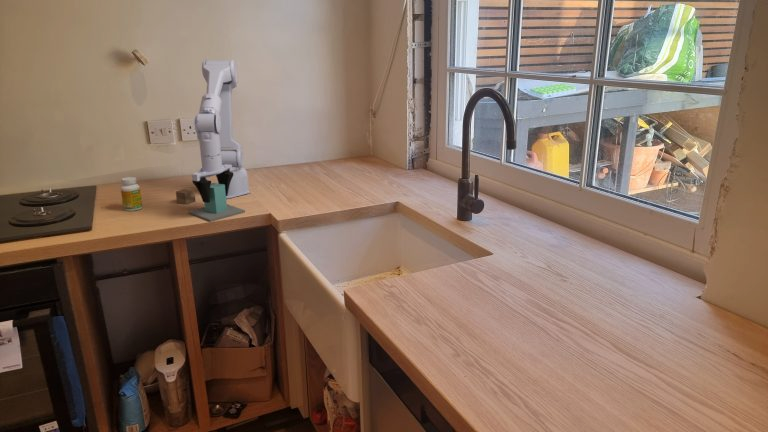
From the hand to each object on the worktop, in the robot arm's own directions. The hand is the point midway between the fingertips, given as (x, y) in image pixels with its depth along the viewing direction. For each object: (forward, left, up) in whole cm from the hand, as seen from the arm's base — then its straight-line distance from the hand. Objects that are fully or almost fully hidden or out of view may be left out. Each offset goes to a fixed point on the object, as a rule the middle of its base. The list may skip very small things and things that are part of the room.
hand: (215, 198), depth 157 cm
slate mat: (0, 0, -4) cm, 4 cm away
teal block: (0, 0, -4) cm, 4 cm away
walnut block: (0, -17, -4) cm, 18 cm away
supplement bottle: (+15, -23, -5) cm, 28 cm away
